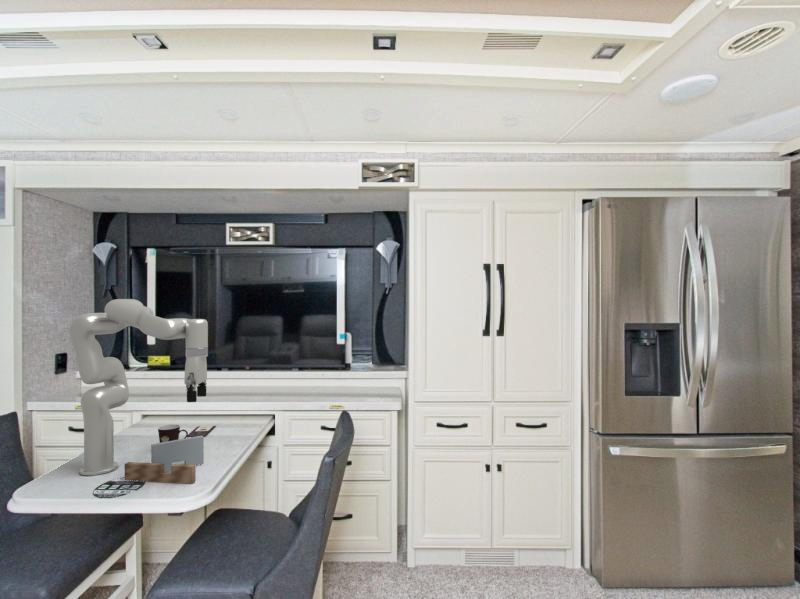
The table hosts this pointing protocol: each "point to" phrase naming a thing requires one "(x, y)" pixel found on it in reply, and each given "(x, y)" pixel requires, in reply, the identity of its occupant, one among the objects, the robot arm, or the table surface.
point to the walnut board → (160, 473)
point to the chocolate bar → (201, 431)
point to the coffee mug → (169, 432)
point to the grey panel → (178, 452)
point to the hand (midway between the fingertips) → (196, 399)
